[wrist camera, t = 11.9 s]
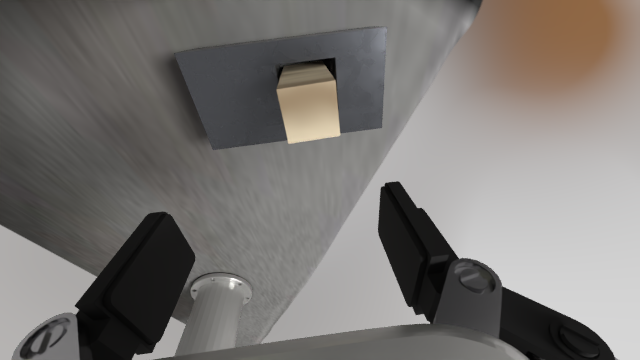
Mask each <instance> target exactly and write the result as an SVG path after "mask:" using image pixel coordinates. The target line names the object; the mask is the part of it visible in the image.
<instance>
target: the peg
mask: <svg viewBox="0 0 640 360" xmlns="http://www.w3.org/2000/svg"><path fill="white" fill-rule="evenodd" d="M276 90H277V94H278V99H279V103H280V108H281V112H282V117H283V121H284V125H285V130H286V134H287V139H288V143H289V144H291V143H297V142H304V141H310V140H316V139H323V138H329V137H336V136H340V126H339V114H338V103H337V91H336V80H335V79H334V77H333V76H332V75H331V73H330V72H329V70H328V69H327V67H326V66H325V65H324V63H323V62H322V60H321V61H314V62H308V63H302V64H295V65H289V66H284V67H283V70H282V74H281V77H280V80H279V83H278V86H277V89H276Z"/></svg>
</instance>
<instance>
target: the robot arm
mask: <svg viewBox="0 0 640 360" xmlns="http://www.w3.org/2000/svg"><path fill="white" fill-rule="evenodd" d="M378 233H379V237H380V239H381V242H382V244H383V247H384V249H385V252H386V254H387V257H388V259H389V262H390V264H391V266H392V269H393V271H394V274H395V276H396V278H397V281H398V284H399V286H400V289H401V291H402V293H403V296H404V299H405V301H406V303H407V305H408V306H409V307H413V309H414V312H415V314H416V315H419V314H424V315H425V317H426V319H427V321H429V322H430V324H414V325H400V326H391V327H384V328H374V329H366V330H358V331H350V332H343V333H336V334H328V335H321V336H314V337H307V338H300V339H292V340H285V341H278V342H271V343H264V344H257V345H250V346H243V347H236V348H235V343H236V338H237V332H238V327H239V322H240V317H241V312H242V307H243V305H245V304H246V303H248V302H249V301H250V299H251V297H252V292H253V291H252V287H251V285H250V284H249V283H248V282H247V281H246V280H245V279H243V278H241V277H239V276H236V275H232V274H227V273H213V274H208V275H204V276H202V277H200V278H198V279H197V280H196V281H195V282H194V283H193V285H192V287H191V290H190V293H191V296H192V298H193V299H194V300H195V302H194V305H193V307H192V310H191V313H190V315H189V318H188V321H187V323H186V326H185V329H184V332H183V334H182V337H181V340H180V343H179V345H178V348H177V350H176V353H175V356H174V357H168V358H161V359H155V360H618V359H616V358H615V357H614V355H613V352H612V351H611V350H610V348H609V347H608V345H607V344H606V343H605V342H604V341H603V340H602V339H601V338H600V337H599V336H598V335H597V334H596V333H595V332H593V331H592V330H591V329H590V328H588V327H587V326H585V325H583V324H582V323H580V322H578V321H576V320H574V319H572V318H570V317H568V316H566V315H563V314H561V313H559V312H557V311H554V310H552V309H550V308H548V307H546V306H544V305H541V304H539V303H537V302H535V301H533V300H531V299H528V298H526V297H524V296H522V295H520V294H518V293H516V292H513V291H511V290H509V289H506V288H505V287H502V283H501V281H500V279H499V277H498V275H497V274H496V273H495V272H494V271H493V270H492V269H491V268H489V267H488V266H487V265H485V264H483V263H481V262H479V261H477V260H473V259H468V258H461V259H459V258H458V257H457V255H456V254H455V253H454V251H453V250H452V248H451V247H450V245H449V244H448V243H447V241H446V240H445V238H444V237H443V236H442V234H441V233H440V232H439V230H438V229H437V227H436V226H435V224H434V223H433V222H432V220H431V219H430V217H429V216H428V215H427V213H426V212H425V211H424V210H423V209H422V208H417V207H416V205H415V204H414V202H413V201H412V200H411V198H410V197H409V195H408V194H407V192H406V191H405V189H404V188H403V186H402V185H401V184H400V182H389V183H385V186H383V187H381V194H380V210H379V224H378ZM194 262H195V254H194V252H193V251H192V249H191V247H190V246H189V244H188V242H187V241H186V239H185V237H184V236H183V234H182V232H181V231H180V229H179V227H178V226H177V224H176V222H175V221H174V219H173V217H172V216H171V215H170V214H167V213H166V212H156V213H150V214H148V215H147V216H146V217H145V218H144V220H143V221H142V222H141V223H140V225H139V226H138V227H137V228H136V230H135V231H134V232H133V233H132V235H131V236H130V237H129V238H128V240H127V241H126V242H125V243H124V245H123V246H122V247H121V248H120V250H119V251H118V252H117V253H116V255H115V256H114V257H113V258H112V260H111V261H110V262H109V263H108V265H107V266H106V267H105V268H104V270H103V271H102V272H101V273H100V275H99V276H98V277H97V278H96V280H95V281H94V282H93V283H92V285H91V286H90V287H89V288H88V290H87V291H86V292H85V293H84V295H83V296H82V297H81V299H80V300H79V301H78V302H77V303H76V305H75V307H77V308H78V309H79V311H78V313H77V314H76V315H75V314H73V313H63V314H59V315H56V316H54V317H52V318H50V319H48V320H46V321H45V322H43V323H42V324H40V325H39V326H37V327H36V328H35V329H34V330H33V331H31V332H30V333H29V334H28V335H27V336H26V337H25V338H24V339H23V340H22V341H21V342H20V344H19V345H18V347H17V348H16V349H15V351H14V354H13V356H12V360H132V358H133V356H134V354H135V353H136V354H137V355H140V354H147V353H152V352H153V350H154V347H155V345H156V343H157V342H159V341H160V339H161V338H162V336H163V334H164V331H165V329H166V327H167V324H168V322H169V319H170V317H171V315H172V313H173V310H174V308H175V306H176V304H177V301H178V299H179V297H180V294H181V292H182V290H183V287H184V285H185V283H186V280H187V278H188V276H189V274H190V271H191V269H192V267H193V264H194Z"/></svg>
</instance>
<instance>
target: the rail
mask: <svg viewBox="0 0 640 360" xmlns="http://www.w3.org/2000/svg"><path fill="white" fill-rule="evenodd" d="M386 34H387V27H365V28H357V29H349V30H341V31H333V32H325V33H317V34H309V35H301V36H293V37H285V38H277V39H269V40H261V41H253V42H245V43H237V44H229V45H221V46H213V47H205V48H197V49H191V50H187V51H183V52H178V53H174V55H175V57H176V60H177V62H178V65H179V67H180V70H181V72H182V75H183V77H184V80H185V82H186V84H187V87H188V89H189V92H190V94H191V97H192V99H193V102H194V104H195V107H196V109H197V112H198V114H199V117H200V119H201V121H202V124H203V126H204V129H205V131H206V134H207V136H208V139H209V141H210V144H211V146H212V149H213V150H216V149H224V148H232V147H239V146H247V145H255V144H262V143H270V142H278V141H285V140H288V139H287V134H286V130H285V125H284V121H283V117H282V112H281V108H280V103H279V99H278V94H277V90H276V89H277V86H278V83H279V80H280V77H281V71H280V66H279V64H287V63H295V62H303V61H311V60H318V59H326V58H330V67H331V75H332V76H333V77H334V79H335V80H336V91H337V103H338V114H339V126H340V133H346V132H354V131H362V130H369V129H377V128H382V114H383V94H384V74H385V54H386Z"/></svg>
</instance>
